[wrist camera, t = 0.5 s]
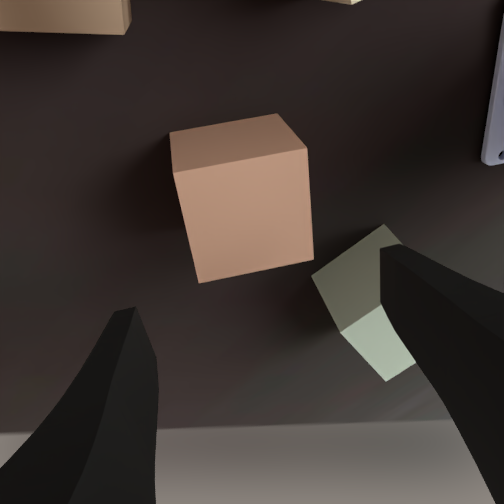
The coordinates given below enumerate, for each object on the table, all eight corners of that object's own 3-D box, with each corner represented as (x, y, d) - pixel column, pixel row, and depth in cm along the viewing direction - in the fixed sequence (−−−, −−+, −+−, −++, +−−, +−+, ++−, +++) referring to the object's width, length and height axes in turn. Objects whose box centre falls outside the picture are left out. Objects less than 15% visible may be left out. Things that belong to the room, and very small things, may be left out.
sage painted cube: (383, 223, 25) (428, 272, 21) (419, 276, 28) (466, 330, 23) (310, 274, 26) (340, 332, 22) (352, 322, 29) (386, 381, 24)
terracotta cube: (276, 112, 21) (307, 147, 17) (285, 208, 24) (313, 259, 19) (169, 131, 20) (172, 172, 16) (191, 227, 23) (198, 283, 19)
